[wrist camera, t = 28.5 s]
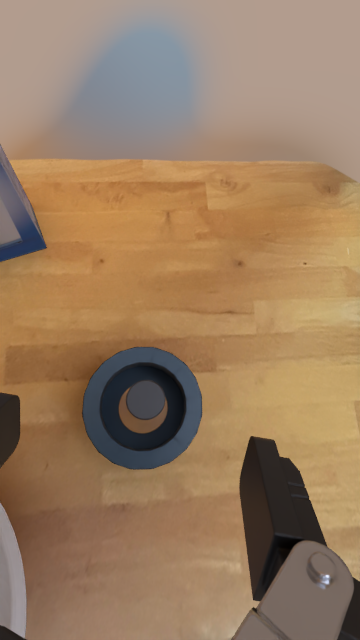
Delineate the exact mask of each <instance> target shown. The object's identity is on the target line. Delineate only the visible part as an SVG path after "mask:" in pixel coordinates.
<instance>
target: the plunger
mask: <svg viewBox="0 0 360 640" xmlns="http://www.w3.org/2000/svg"><path fill="white" fill-rule="evenodd" d="M167 411H168V404H167V400H166V397H165V394H164V391H163V389H162V388H161V386H160V385H159V384H157V383H156V382H154V381H151V380H141V381H138V382H136V383H135V384H133V385H132V386H131V387H130V388H128V389H127V390H126V391H125V392H124V394H123V395H122V397H121V399H120V402H119V416H120V419H121V421H122V423H123V424H124V425H125V426H126V427H127V428H128V429H129V430H131V431H133V432H136V433H149V432H152V431H154V430H156V429H157V428H158V427H160V426H161V424H162V423H163V422H164V420H165V418H166V415H167Z"/></svg>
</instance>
